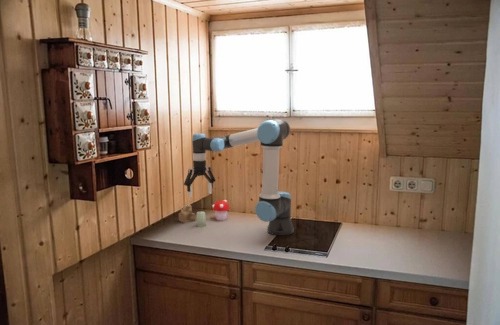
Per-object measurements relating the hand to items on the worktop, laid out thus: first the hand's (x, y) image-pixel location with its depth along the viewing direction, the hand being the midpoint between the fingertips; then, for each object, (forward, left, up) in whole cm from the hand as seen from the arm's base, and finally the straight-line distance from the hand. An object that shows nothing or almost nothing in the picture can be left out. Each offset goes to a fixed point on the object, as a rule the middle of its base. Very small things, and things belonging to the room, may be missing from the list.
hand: (200, 195), depth 256 cm
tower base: (+2, -14, -19) cm, 24 cm away
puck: (0, 0, -19) cm, 19 cm away
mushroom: (-17, -4, -19) cm, 26 cm away
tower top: (+2, -14, -14) cm, 20 cm away
